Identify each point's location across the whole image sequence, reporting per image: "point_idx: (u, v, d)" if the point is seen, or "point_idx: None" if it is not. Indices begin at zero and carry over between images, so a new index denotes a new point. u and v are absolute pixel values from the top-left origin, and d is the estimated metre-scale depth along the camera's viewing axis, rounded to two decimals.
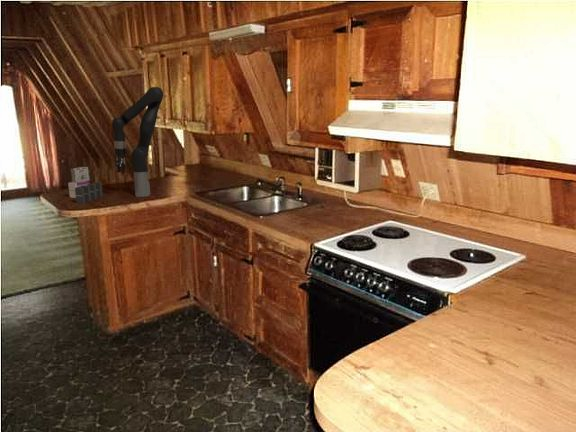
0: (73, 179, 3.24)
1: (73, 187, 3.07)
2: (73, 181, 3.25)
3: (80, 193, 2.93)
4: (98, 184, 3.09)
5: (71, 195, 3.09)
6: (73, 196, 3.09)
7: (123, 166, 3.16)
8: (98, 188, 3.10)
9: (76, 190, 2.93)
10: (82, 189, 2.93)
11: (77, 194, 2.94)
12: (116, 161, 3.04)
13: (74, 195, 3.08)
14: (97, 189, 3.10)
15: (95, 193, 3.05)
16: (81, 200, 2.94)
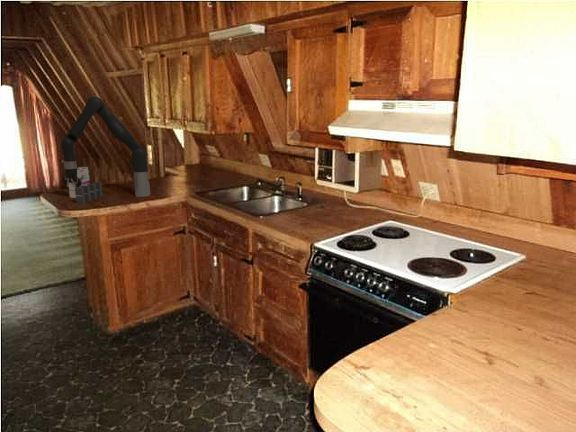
0: None
1: (73, 187, 3.07)
2: None
3: (80, 193, 2.93)
4: (98, 184, 3.09)
5: (71, 195, 3.09)
6: (73, 196, 3.09)
7: None
8: (98, 188, 3.10)
9: (76, 190, 2.93)
10: (82, 189, 2.93)
11: (77, 194, 2.94)
12: (79, 182, 3.05)
13: (74, 195, 3.08)
14: (97, 189, 3.10)
15: (95, 193, 3.05)
16: (81, 200, 2.94)
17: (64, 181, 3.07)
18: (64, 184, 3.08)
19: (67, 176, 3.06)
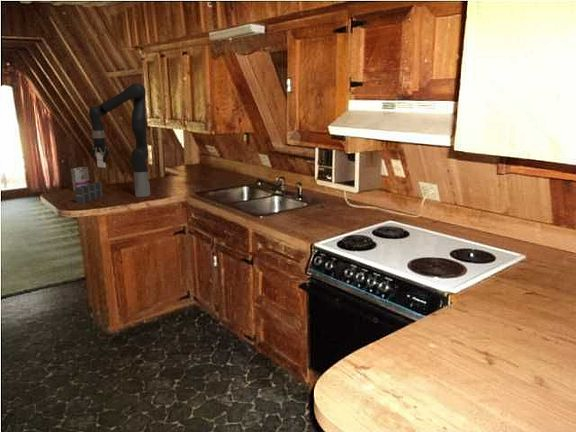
0: (73, 179, 3.24)
1: (101, 157, 3.10)
2: (73, 181, 3.25)
3: (80, 193, 2.93)
4: (98, 184, 3.09)
5: (99, 165, 3.12)
6: (101, 165, 3.12)
7: None
8: (98, 188, 3.10)
9: (76, 190, 2.93)
10: (82, 189, 2.93)
11: (77, 194, 2.94)
12: (107, 151, 3.08)
13: (102, 165, 3.11)
14: (97, 189, 3.10)
15: (95, 193, 3.05)
16: (81, 200, 2.94)
17: (92, 151, 3.10)
18: (92, 154, 3.11)
19: (95, 146, 3.09)
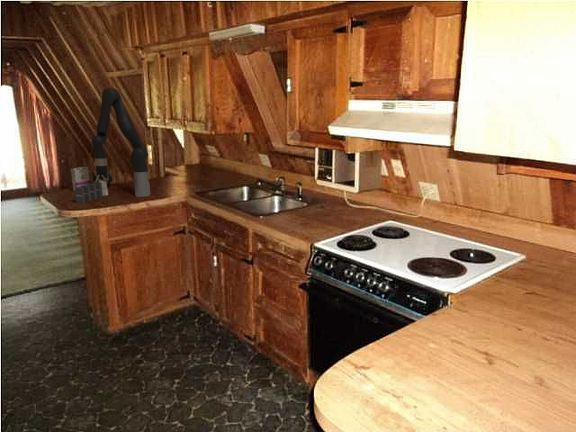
0: (73, 179, 3.24)
1: (103, 185, 3.15)
2: (73, 181, 3.25)
3: (80, 193, 2.93)
4: (98, 184, 3.09)
5: None
6: (103, 193, 3.17)
7: None
8: (98, 188, 3.10)
9: (76, 190, 2.93)
10: (82, 189, 2.93)
11: (77, 194, 2.94)
12: (110, 177, 3.13)
13: (104, 193, 3.17)
14: (97, 189, 3.10)
15: (95, 193, 3.05)
16: (81, 200, 2.94)
17: (93, 176, 3.15)
18: (93, 179, 3.16)
19: (98, 173, 3.14)
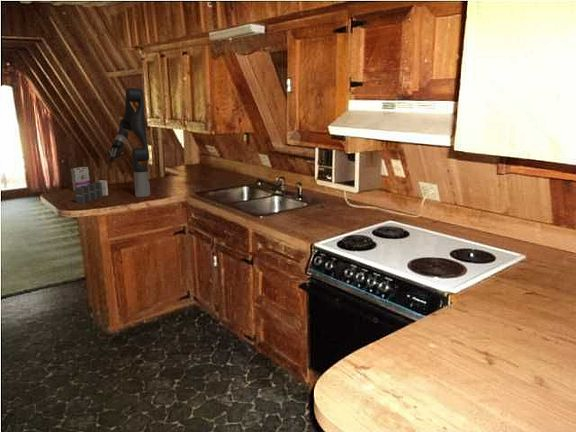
0: (73, 179, 3.24)
1: (103, 185, 3.15)
2: (73, 181, 3.25)
3: (80, 193, 2.93)
4: (98, 184, 3.09)
5: None
6: (103, 193, 3.17)
7: None
8: (98, 188, 3.10)
9: (76, 190, 2.93)
10: (82, 189, 2.93)
11: (77, 194, 2.94)
12: (119, 154, 3.24)
13: (104, 193, 3.17)
14: (97, 189, 3.10)
15: (95, 193, 3.05)
16: (81, 200, 2.94)
17: (108, 152, 3.25)
18: (108, 154, 3.24)
19: (112, 147, 3.27)
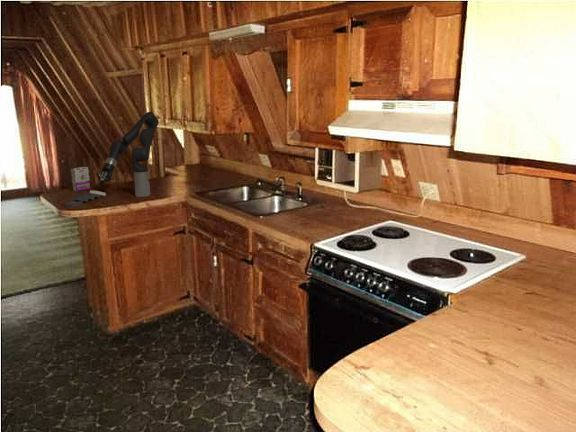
0: (73, 179, 3.24)
1: None
2: (73, 181, 3.25)
3: None
4: None
5: None
6: None
7: None
8: None
9: None
10: (72, 205, 2.86)
11: None
12: (109, 178, 3.15)
13: (102, 195, 3.14)
14: None
15: (90, 197, 3.01)
16: None
17: (98, 176, 3.17)
18: (98, 178, 3.16)
19: (102, 171, 3.19)
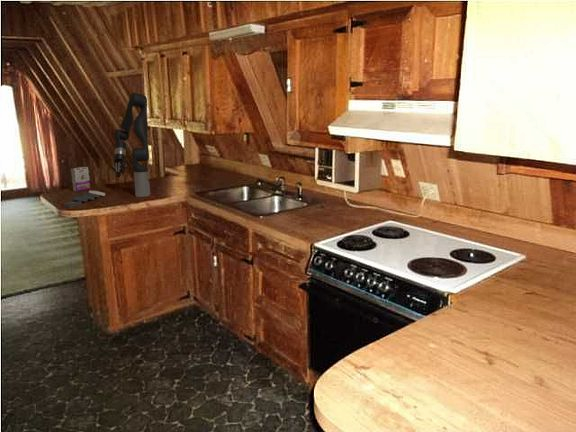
0: (73, 179, 3.24)
1: None
2: (73, 181, 3.25)
3: None
4: (89, 195, 3.02)
5: None
6: (100, 195, 3.15)
7: None
8: (92, 196, 3.04)
9: None
10: (70, 205, 2.85)
11: None
12: (124, 167, 3.27)
13: (101, 195, 3.14)
14: None
15: (89, 197, 3.00)
16: None
17: (113, 168, 3.29)
18: (114, 170, 3.28)
19: (115, 162, 3.30)
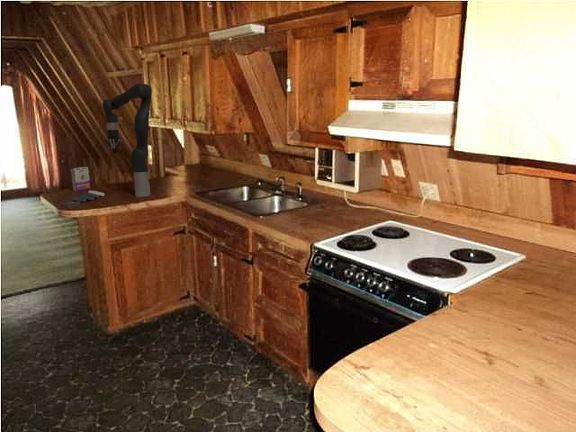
0: (73, 179, 3.24)
1: None
2: (73, 181, 3.25)
3: None
4: (89, 195, 3.01)
5: None
6: (100, 195, 3.14)
7: None
8: (91, 196, 3.04)
9: None
10: (69, 205, 2.85)
11: None
12: (119, 144, 3.20)
13: (101, 195, 3.14)
14: (91, 196, 3.05)
15: (89, 197, 3.00)
16: None
17: (108, 143, 3.22)
18: (109, 146, 3.22)
19: (109, 137, 3.20)
